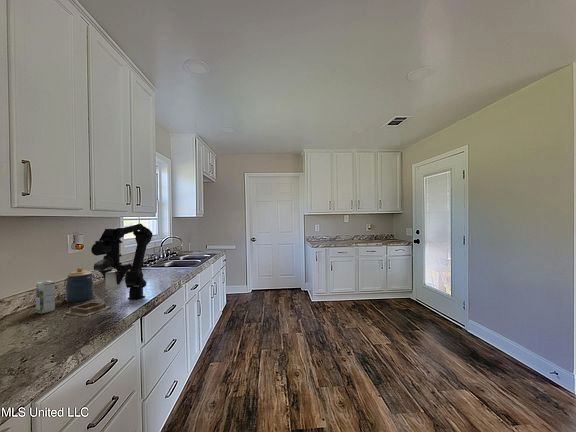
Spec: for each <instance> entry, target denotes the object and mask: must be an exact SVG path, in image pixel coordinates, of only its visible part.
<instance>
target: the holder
mask: <svg viewBox="0 0 576 432" xmlns="http://www.w3.org/2000/svg"><path fill="white" fill-rule="evenodd" d="M108 308H109V309H111V308H112V306H109V305H107V302H99V301H98V302H97V301H90V302H85V303H83V304H78V305H75V306H72V307H70V310H69V311H66V312H65V313H64V314H65V315H69V316H70V315H71V316H78V317H84V318H85V316H86V317H88V315H89V316H92V315H93V314H96V313H99V312H100V313H101V312H103V311H106V310H108ZM91 314H92V315H91Z"/></svg>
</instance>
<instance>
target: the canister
mask: <svg viewBox="0 0 576 432" xmlns="http://www.w3.org/2000/svg"><path fill="white" fill-rule="evenodd" d="M66 276H67V278H65V279H64V281H65V282H66V283H65V285H64V288H65V298H64V299H65V302H66V303H67V302H68V303H77V302H83V301H87V300H88V301H89V300H90V299H92V298H94V295H95V292H94V287H95V286H94V283H95V282H94V277H95V276H94V275H93V272H92V271H90V270H85V269H83V268H82V267H77V269H76V271H70V272H69V273H68V274H67V275H66Z"/></svg>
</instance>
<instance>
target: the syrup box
mask: <svg viewBox="0 0 576 432" xmlns="http://www.w3.org/2000/svg"><path fill="white" fill-rule="evenodd" d="M53 311H56V281H53V280H42V281H37V282H36V283H35V313H38V314H46V313H49V312H53Z"/></svg>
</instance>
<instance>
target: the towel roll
mask: <svg viewBox="0 0 576 432" xmlns="http://www.w3.org/2000/svg"><path fill="white" fill-rule="evenodd" d="M115 271H116V270H114V271H113V270H112V271H111V272H106V273H105V279H104V281H105V283H104V284H105V286H104V287H105V288H104V289H105V290H106V291H115V290H118V289H121V287H122V286H121V283H122V281H121V282H120V284H119V285H117V278H116V274H115V273H114V272H115Z"/></svg>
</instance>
